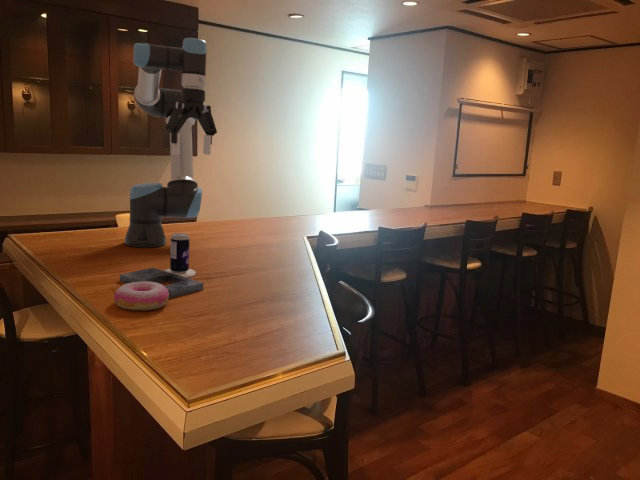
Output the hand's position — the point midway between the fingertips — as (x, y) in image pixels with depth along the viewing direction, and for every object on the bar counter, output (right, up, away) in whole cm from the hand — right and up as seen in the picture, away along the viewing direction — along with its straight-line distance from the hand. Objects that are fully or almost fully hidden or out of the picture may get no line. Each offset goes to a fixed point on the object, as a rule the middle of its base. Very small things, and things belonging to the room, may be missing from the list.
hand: (191, 154), depth 175 cm
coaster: (-1, -39, -10) cm, 41 cm away
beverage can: (-1, -39, -10) cm, 40 cm away
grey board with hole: (-3, -42, -23) cm, 48 cm away
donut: (-3, -46, -40) cm, 61 cm away
